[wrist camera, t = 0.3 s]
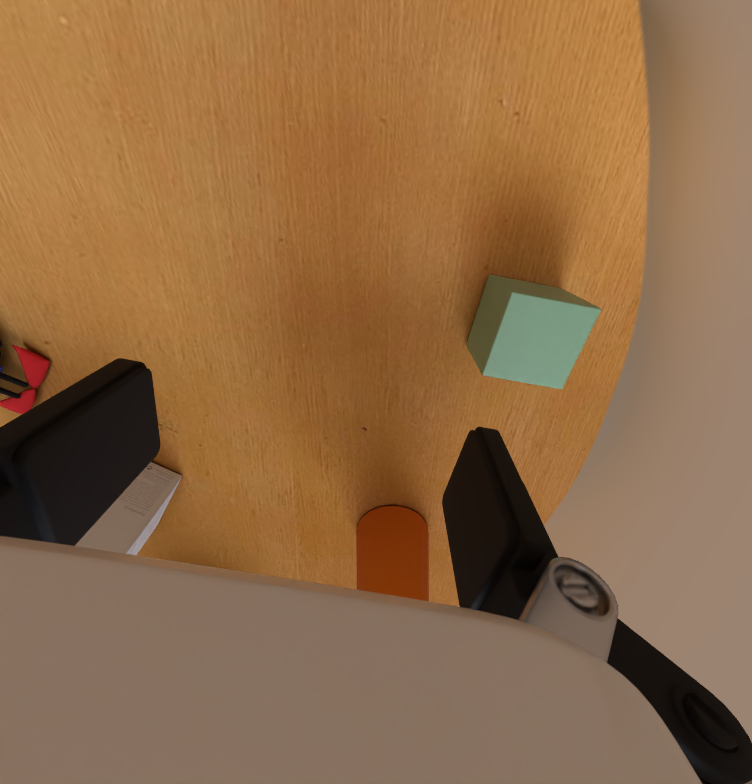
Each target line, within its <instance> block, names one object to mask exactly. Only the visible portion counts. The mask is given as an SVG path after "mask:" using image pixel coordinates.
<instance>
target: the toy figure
mask: <svg viewBox="0 0 752 784" xmlns="http://www.w3.org/2000/svg"><path fill="white" fill-rule="evenodd" d="M12 346H13V347H14V349H15V350H16V352H17V354H18V356H19V359H20V361H21V364H22V367H23V369H24V372H25V375H26V378H27V381H28V383H29V384H30V386H31V387H32V388H34V389H36V388H37V387H38V386H39V385H40V384H41V382H42V381H43V380H44V378H45V375H46V373H47V370H48V366H49V361H48V360H47V359H45V358H43V357H42V356H39V355H37V354H35V353H33V352H30V351H28V350H25V349H23V348H20V347H18V346H15V345H12ZM1 347H2V342H1V340H0V348H1ZM0 358H1V352H0ZM1 372H2V366H0V378H1V379H4V380H6V381H9V382H12V383H14V384H17V385H19V386H22V387H28V386H29V385H28V383H26V382H24V381H21V380H19V379H16V378H14V377H11V376H8V375H6V374H3V373H1ZM34 389H28V390H25V391H23V392H21V393H19V394H17V393H14V392H12V391H9V390H6V389H4V388H1V387H0V393H2V394H5V395H8V396H10V398H7V399H4V400H1V401H0V406H2V407H4V408H7V409H9V410H11V411H14V412H16V413H21V414H24V413H26V412H28V411H29V410H31V408H32V406H33V404H34V402H35V398H36V391H35V390H34Z"/></svg>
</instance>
